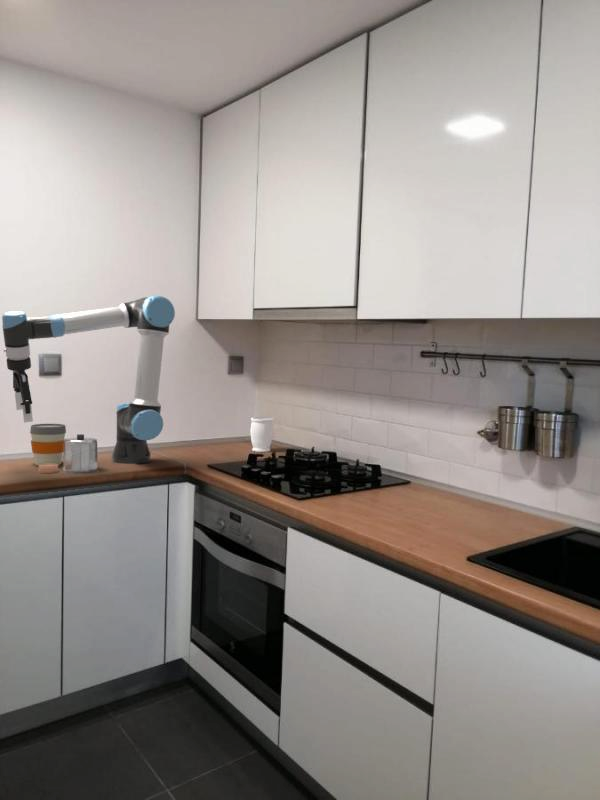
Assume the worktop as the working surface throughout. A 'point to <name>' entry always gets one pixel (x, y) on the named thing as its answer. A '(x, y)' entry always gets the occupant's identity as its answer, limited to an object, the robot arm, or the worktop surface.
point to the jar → (261, 433)
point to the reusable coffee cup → (47, 443)
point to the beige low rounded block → (48, 468)
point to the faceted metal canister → (80, 454)
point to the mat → (81, 472)
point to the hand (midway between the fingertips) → (24, 415)
